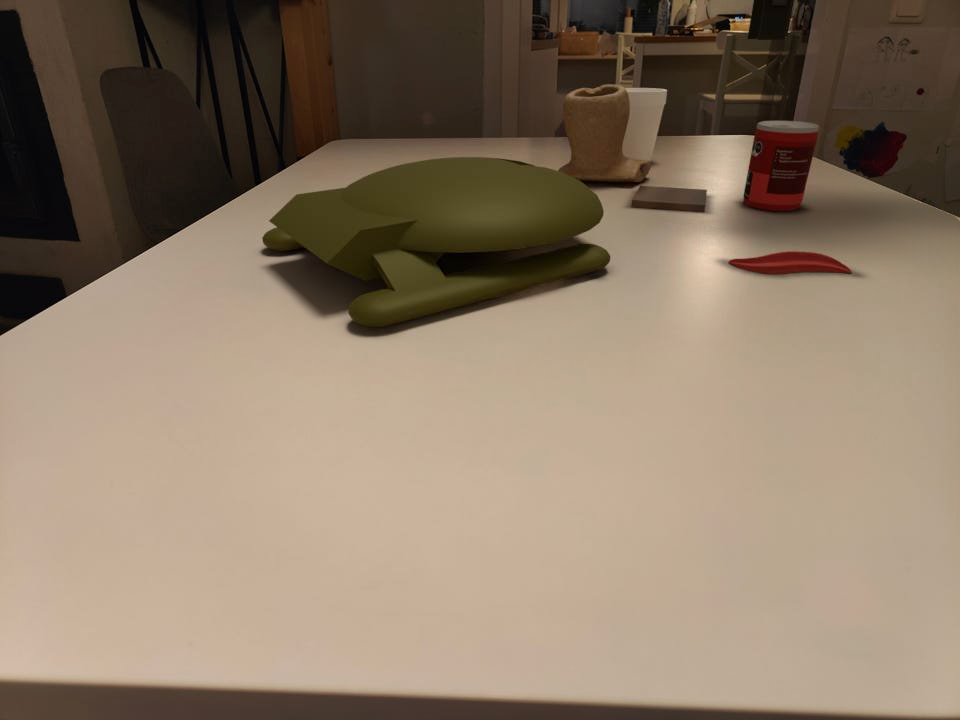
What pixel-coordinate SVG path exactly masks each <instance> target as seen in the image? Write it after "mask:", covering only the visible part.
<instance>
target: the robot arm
mask: <svg viewBox="0 0 960 720" xmlns="http://www.w3.org/2000/svg"><path fill="white" fill-rule="evenodd" d="M792 1H793V0H753V3H752V8H751V14H750V21H749V26H748V32H747V37H746V39H747V40H757V41H779V40H780V41H785V37H786V32H787V27H788V21H789V16H790V13H791V7H792Z"/></svg>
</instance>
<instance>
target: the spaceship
mask: <svg viewBox="0 0 960 720" xmlns="http://www.w3.org/2000/svg"><path fill="white" fill-rule="evenodd" d="M604 213H605V211H604V207H603V203H602V201H601V199H600V198H599V195H598V194H596V193H595V192H594V191H593V190H592V189H591V188H590V187H588V186H587V185H586V184H585V183H584V182H582V180H577V179H575V178H573V177H571V176H569V175H567V174H565V173H562V172H560V171H558V170H557V169H556V170H555V169H552V168H549V167H545V166H537V165H535V164H531V163H527V162H523V161H521V160H515V159H507V158H498V157H482V156H458V157H457V156H456V157H441V158H430V159H424V160H418V161H412V162H407V163H402V164H397V165H394V166H390V167H386V168H384V169H381V170H378V171H375V172H372V173H370V174H368V175H365V176H363V177H361V178H360V179H357V180H356V181H353V182H352V183H350V184H348V185H347V186H345V187H339V188H333V189H324V190H319V191H318V190H317V191H311V192H304V193H297V194H295V195H294V196H293V197H292V198H291V199H290V200H289V201H288V202H287V203H285V204H284V206H283V207H282V208H280V209H279V210H278V212H276V213H275V214H274V215H273V216H272V217H271V218H270V219H269V220H268V222H269V223H271V224H272V225H273V226H274V227H273V228H271V229H269V230H268V231H266V232H265V233H264V234H263V236H262V237H261V239H262V243H263V245H264V246H265V247H266V248H267V249H270V250H274V251H278V252H288V251H293V250H299V249H304V248H305V249H306V250H308V251H309V252H311V254H313V255H314V256H316V257H317V258H318V259H320V260H321V261H322V262H324V263H326V264H327V265H329V266H331V267H334V268H336V269H338V270H340V271H342V272H345V273H346V274H349V275H350V276H353V277H356V278H358V279H360V280H362V281H365V282H368V281H372V280H377V279H383V281H384V284H385V285H386V286H387V287H386V288H383V289H379V290H373V291H370V292H367V293H364V294H361V295H358V296H357V297H356V298H354V299H353V300H352V301H351V303H350V305H348V306H349V307H348V308H347V309H348V315H349V317H350V319H351V320H352V321H354V322H355V323H357V324H358V325H361V326H365V327H372V328H381V327H387V326H392V325H395V324H400V323H404V322H407V321H411V320H415V319H419V318H422V317H426V316H430V315H432V314H437V313H443V312H445V311H450V310H453V309H456V308H460V307H465V306H468V305H472V304H475V303H480V302H483V301H486V300H490V299H491V300H492V299H494V298H499V297H501V296H505V295H509V294H513V293H516V292H521V291H525V290H528V289H533V288H536V287H540V286H543V285H547V284H551V283H554V282H558V281H559V282H560V281H562V280H565V279H566V280H567V279H571V278H574V277H578V276H581V275H585V274H589V273H593V272H596V271H599V270H602V269H604V268H605V267H606V266H608V265H609V263H610V262H611V254H610V253H609V252H608V250H607V249H606V248H604V247H602V246H599V245H598V244H594V243H577V244H573V245H569V246H564V247H559V248H555V249H551V250H547V251H543V252H538V253H534V254H529V255H524V256H521V257H517V258H512V259H507V260H504V261H499V262H495V263H491V264H487V265H482V266H478V267H473V268H469V269H464V270H461V271H456V272H451V273H447V274H444V273H443V272H442V270H441V269H440V267H439V265H438V264H437V262H438V260H439V259H440V258H441V257H442V256H443V255H445V253H479V252H480V253H482V252H483V253H484V252H499V251H509V250H519V249H526V248H533V247H537V246H544V245H549V244H553V243H558V242H561V241H564V240H568V239H572V238H575V237H578V236H579V235H582V234H584V233H586V232H589V231H592V229H593V228H595V227H596V226H597V225H599V224H601V222H602V219H603V217H604Z"/></svg>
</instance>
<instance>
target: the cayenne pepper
mask: <svg viewBox="0 0 960 720" xmlns="http://www.w3.org/2000/svg"><path fill="white" fill-rule="evenodd" d="M727 263H728V264H729V265H731V266H734V267H736V268H739V269H742V270H746V271H748V272H749V271H750V272H754V273H760V274H767V275H768V274H769V275H782V274H783V275H784V274H793V273H808V272H809V273H811V272H813V273H814V272H816V273H818V272H819V273H820V272H821V273H823V272H824V273H842V274H843V273H844V274H852V273H853V272H852V270H851V269H850V268H849V267H848V266H847V265H846V264H844V263H842V262H841V261H840V260H838V259H836V258H834V257H832V256H829V255H827V254H823V253H820V252H819V253H818V252H814V251H812V252H811V251H798V250H797V251H794V250H790V251H780V252H779V251H778V252H774V253H769V254H765V255H761V256H754V257H745V258H732V259H730V260H729V261H727Z"/></svg>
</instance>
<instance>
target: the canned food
mask: <svg viewBox="0 0 960 720" xmlns="http://www.w3.org/2000/svg"><path fill="white" fill-rule="evenodd" d="M819 129H820V125H819V124H817V123H814V122H813V123H812V122H806V121H795V120H763V121H760V122H757V124H756V127H755V131H754V135H753V141H752V147H751V153H750V157H749V158H750V159H749V163H748V169H747V175H746V180H745V184H744V191H743V196H742V197H743V203H744V204H745V205H746V206H748V207H751V208H754V209H758V210H764V211H772V212H790V211H795V210H797V209H799V208H800V206H801V204H802V203H803V200H804V195H805V191H806V186H807V183H808V179H809V175H810V171H811V166H812V162H813V158H814V153H815V149H816V145H817V141H818V136H819V132H820V131H819Z"/></svg>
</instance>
